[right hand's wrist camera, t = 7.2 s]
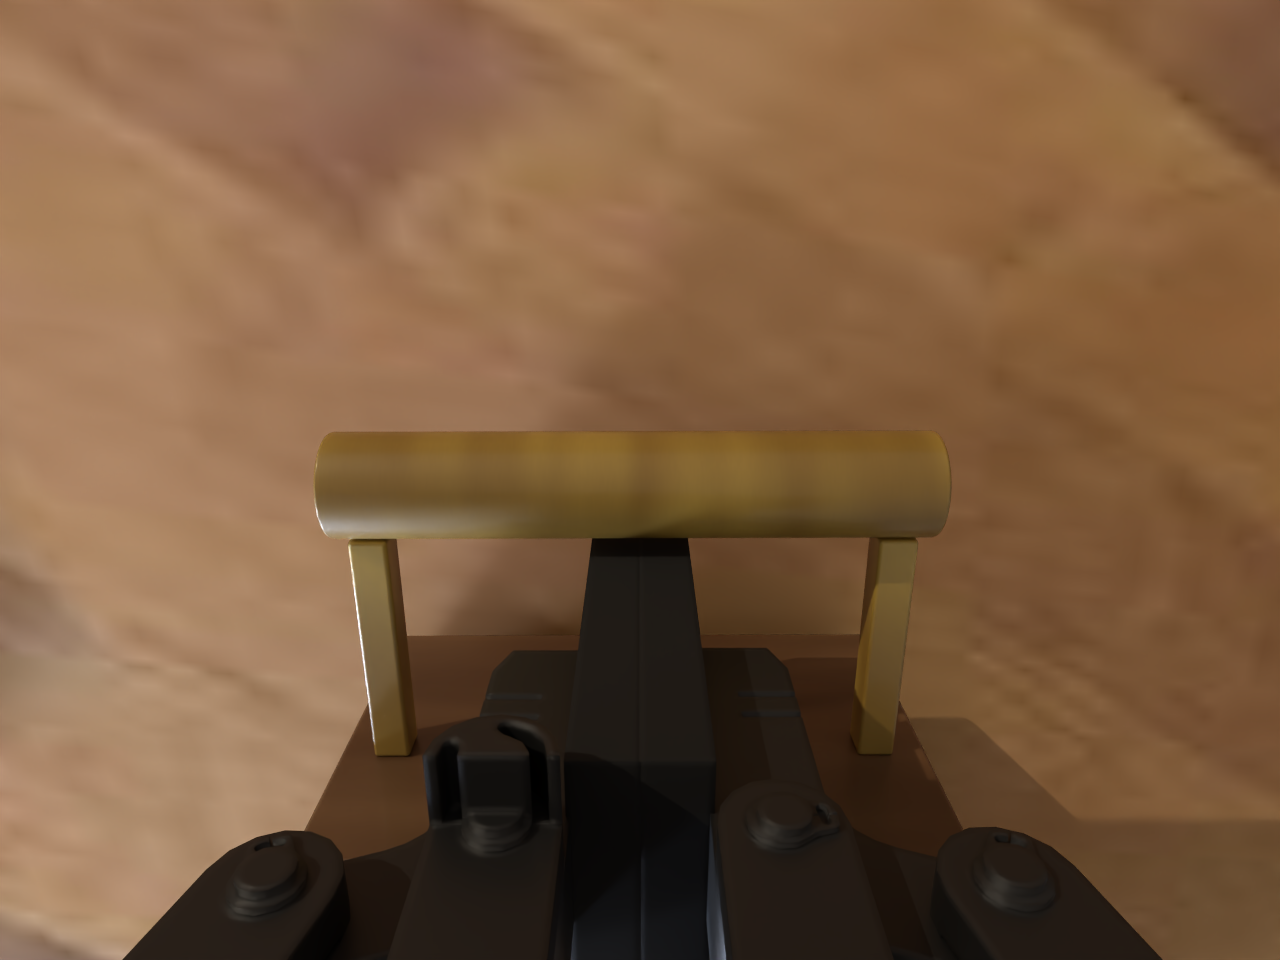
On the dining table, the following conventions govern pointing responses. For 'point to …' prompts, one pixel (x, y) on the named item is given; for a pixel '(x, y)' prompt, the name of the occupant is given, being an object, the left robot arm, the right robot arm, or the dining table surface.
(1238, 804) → the dining table surface
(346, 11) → the dining table surface
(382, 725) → the drawer
